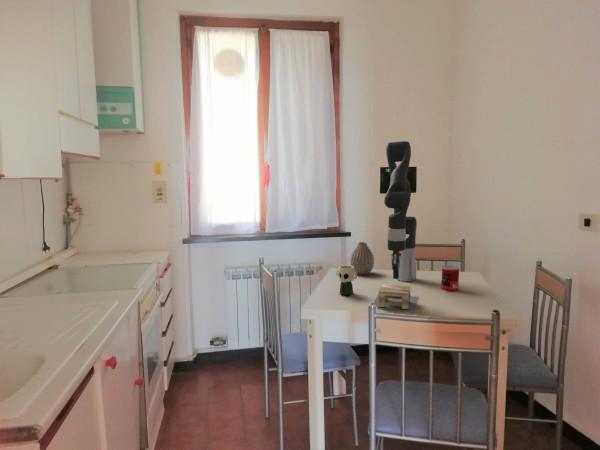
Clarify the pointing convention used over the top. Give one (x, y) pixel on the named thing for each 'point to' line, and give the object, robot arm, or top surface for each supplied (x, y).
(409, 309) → the mat
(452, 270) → the canned food
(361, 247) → the vase
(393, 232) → the robot arm
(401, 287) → the stool
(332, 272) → the top surface
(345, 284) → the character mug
